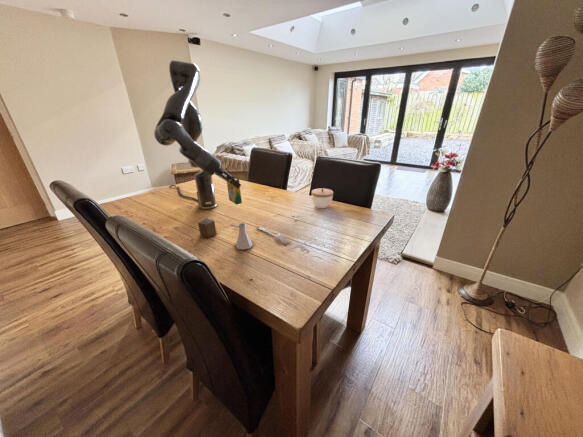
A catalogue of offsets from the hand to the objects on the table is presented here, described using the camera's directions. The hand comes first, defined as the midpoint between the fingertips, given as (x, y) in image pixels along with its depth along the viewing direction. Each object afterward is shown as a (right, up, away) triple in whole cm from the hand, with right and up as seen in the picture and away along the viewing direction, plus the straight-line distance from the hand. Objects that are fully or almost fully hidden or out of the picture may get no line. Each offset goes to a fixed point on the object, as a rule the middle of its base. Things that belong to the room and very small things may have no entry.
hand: (236, 184), depth 106 cm
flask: (+5, -27, -5) cm, 28 cm away
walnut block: (-14, -23, +4) cm, 27 cm away
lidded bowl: (+43, -8, +34) cm, 56 cm away
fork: (+16, -23, +2) cm, 29 cm away
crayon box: (-1, -8, +3) cm, 8 cm away
